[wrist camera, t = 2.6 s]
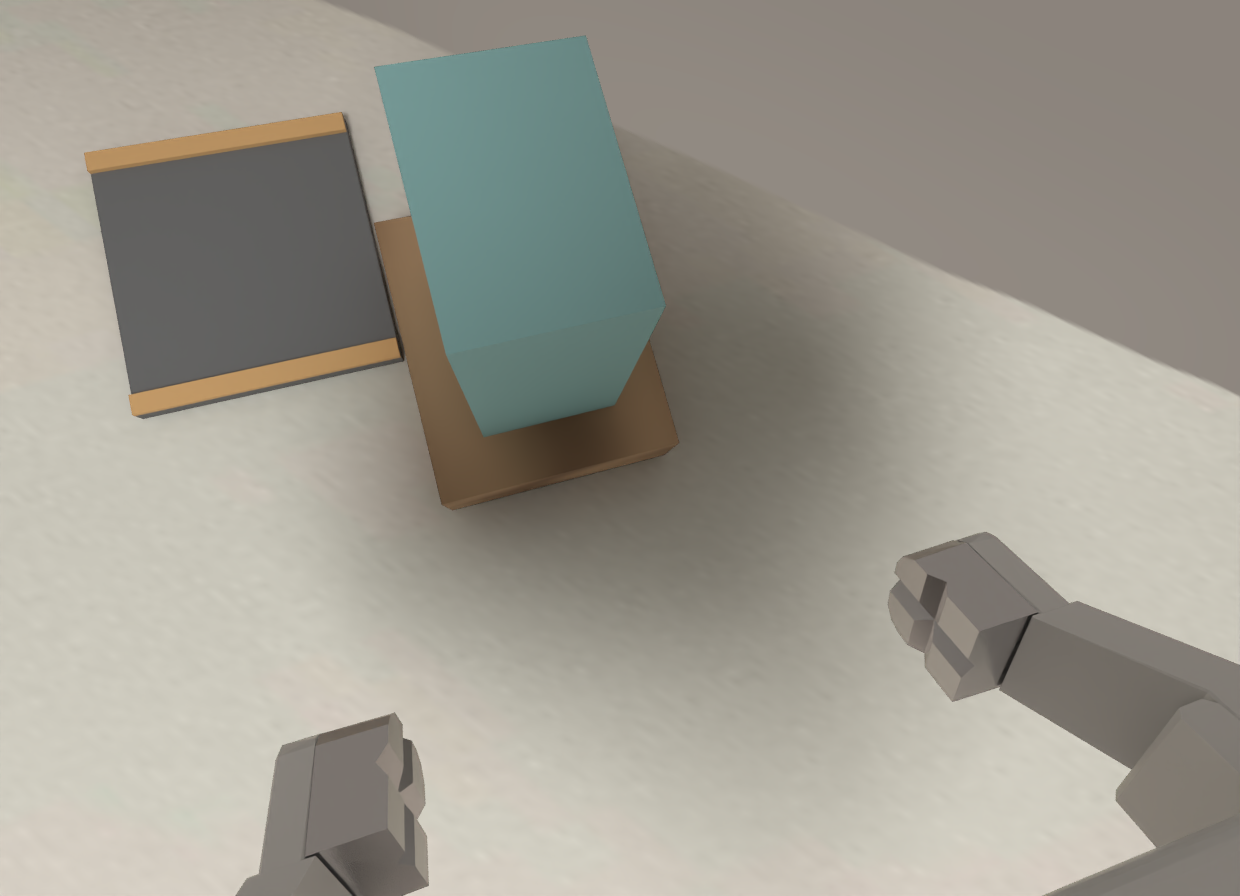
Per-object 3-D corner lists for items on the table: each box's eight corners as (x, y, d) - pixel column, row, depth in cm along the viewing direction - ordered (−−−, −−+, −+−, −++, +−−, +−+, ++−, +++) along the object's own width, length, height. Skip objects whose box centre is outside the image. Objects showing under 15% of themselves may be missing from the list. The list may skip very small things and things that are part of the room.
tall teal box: (483, 437, 24) (446, 354, 14) (439, 261, 25) (374, 66, 15) (614, 405, 25) (666, 305, 15) (567, 235, 25) (585, 35, 16)
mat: (143, 418, 25) (132, 414, 25) (95, 163, 27) (84, 152, 26) (403, 361, 27) (399, 356, 26) (346, 122, 28) (341, 112, 28)
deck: (452, 510, 26) (441, 504, 23) (391, 258, 27) (373, 222, 25) (664, 454, 28) (679, 442, 25) (596, 218, 29) (602, 180, 26)
